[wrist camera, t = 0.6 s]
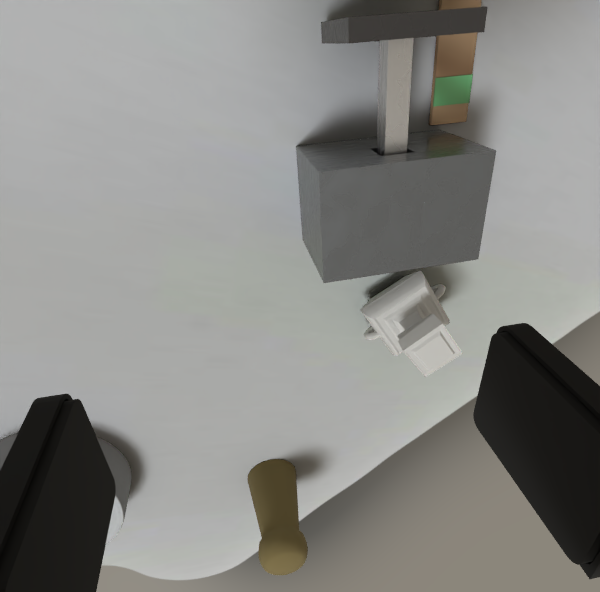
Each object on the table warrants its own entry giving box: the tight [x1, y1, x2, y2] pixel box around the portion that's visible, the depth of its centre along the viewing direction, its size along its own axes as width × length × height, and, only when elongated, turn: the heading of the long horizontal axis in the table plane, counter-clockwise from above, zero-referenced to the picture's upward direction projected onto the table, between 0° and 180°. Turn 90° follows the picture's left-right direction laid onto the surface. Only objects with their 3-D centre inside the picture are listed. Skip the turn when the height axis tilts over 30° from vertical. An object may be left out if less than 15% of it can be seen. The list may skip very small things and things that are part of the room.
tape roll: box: [0, 433, 132, 544], centre depth 45 cm, size 15×15×5 cm
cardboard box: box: [429, 0, 481, 125], centre depth 32 cm, size 8×3×1 cm, turn 4°
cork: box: [248, 459, 308, 575], centre depth 48 cm, size 6×6×11 cm
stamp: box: [361, 271, 463, 377], centre depth 39 cm, size 9×7×8 cm
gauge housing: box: [296, 130, 496, 283], centre depth 33 cm, size 8×12×8 cm, turn 94°
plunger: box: [321, 7, 487, 156], centre depth 28 cm, size 9×11×6 cm
